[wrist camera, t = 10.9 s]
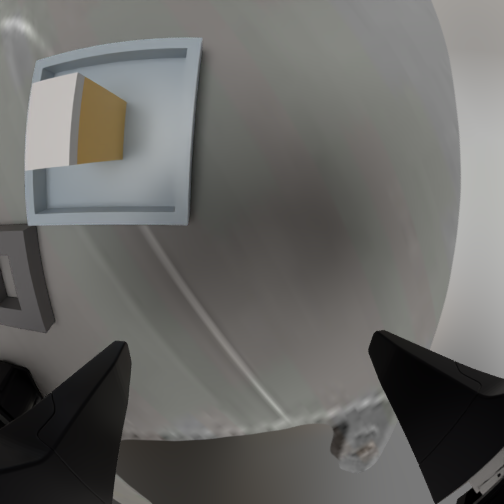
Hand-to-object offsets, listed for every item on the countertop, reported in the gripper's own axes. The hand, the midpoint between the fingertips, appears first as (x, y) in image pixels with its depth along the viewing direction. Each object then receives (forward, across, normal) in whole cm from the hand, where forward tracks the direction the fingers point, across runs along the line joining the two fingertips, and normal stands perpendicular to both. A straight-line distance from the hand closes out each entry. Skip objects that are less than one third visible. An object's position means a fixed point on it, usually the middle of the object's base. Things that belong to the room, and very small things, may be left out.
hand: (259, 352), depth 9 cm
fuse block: (+12, +20, +3) cm, 23 cm away
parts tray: (+12, +9, -8) cm, 17 cm away
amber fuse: (+11, +9, -8) cm, 16 cm away
